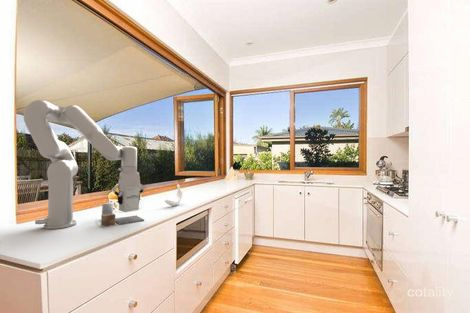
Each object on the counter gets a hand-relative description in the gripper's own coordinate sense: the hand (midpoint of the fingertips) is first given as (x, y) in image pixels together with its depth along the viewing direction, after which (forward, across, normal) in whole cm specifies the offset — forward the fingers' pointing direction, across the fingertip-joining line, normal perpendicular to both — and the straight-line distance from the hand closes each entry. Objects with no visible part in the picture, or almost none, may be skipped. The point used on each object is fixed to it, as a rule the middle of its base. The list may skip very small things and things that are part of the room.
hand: (129, 202), depth 123 cm
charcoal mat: (+9, 0, 0) cm, 9 cm away
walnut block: (+9, -10, -2) cm, 14 cm away
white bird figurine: (+10, +37, +22) cm, 44 cm away
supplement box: (+4, 0, 0) cm, 4 cm away
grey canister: (+9, -8, +10) cm, 16 cm away
